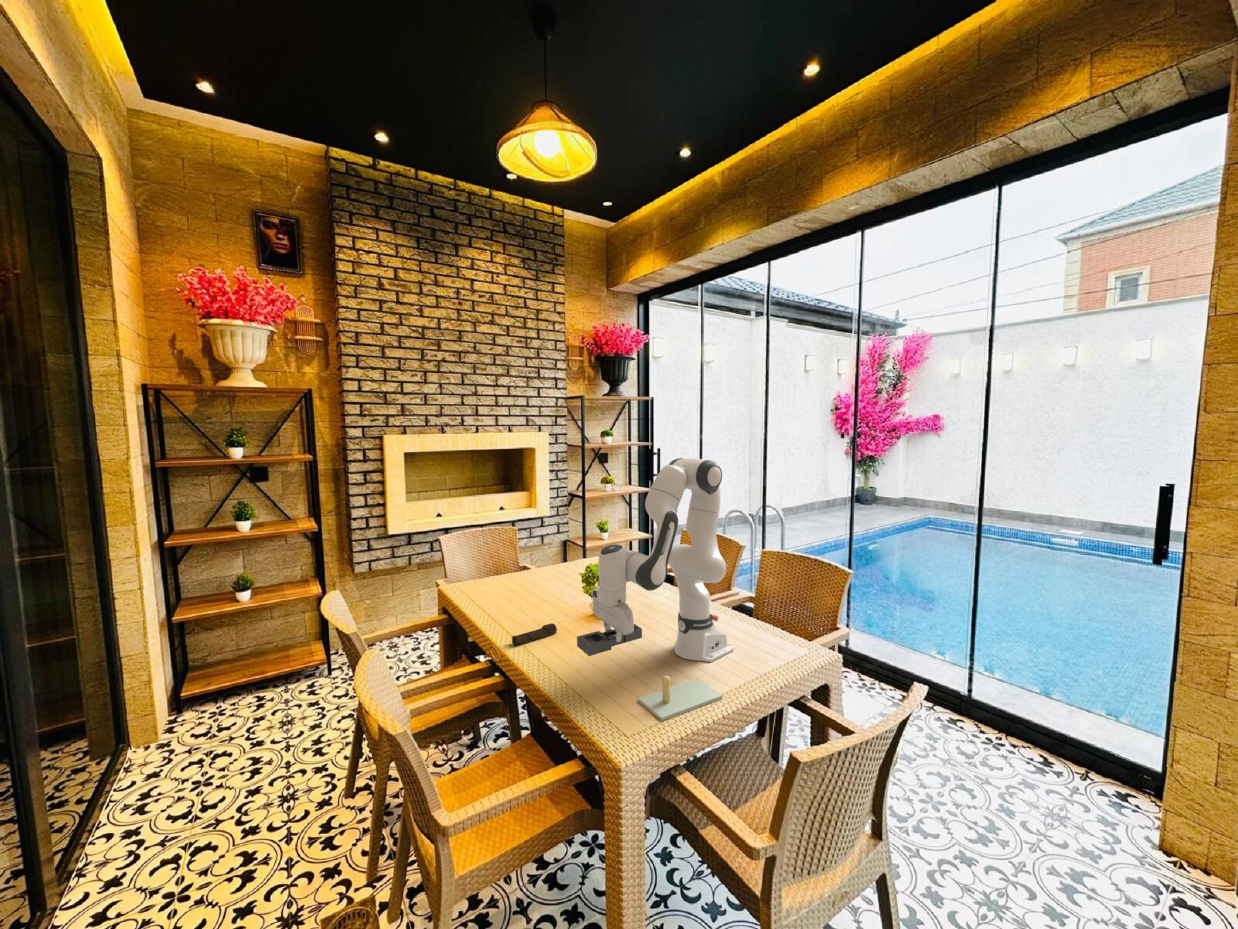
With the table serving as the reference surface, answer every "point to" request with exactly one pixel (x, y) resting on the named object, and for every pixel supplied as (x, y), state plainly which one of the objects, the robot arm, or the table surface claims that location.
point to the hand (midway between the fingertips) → (613, 637)
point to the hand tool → (535, 634)
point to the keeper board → (678, 698)
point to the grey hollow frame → (604, 640)
